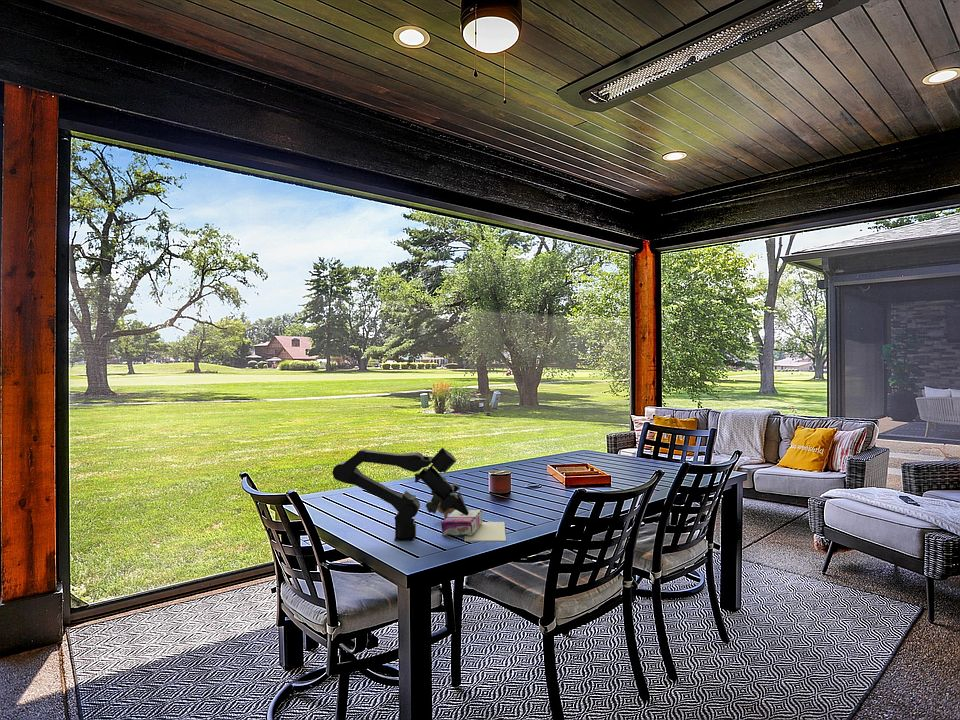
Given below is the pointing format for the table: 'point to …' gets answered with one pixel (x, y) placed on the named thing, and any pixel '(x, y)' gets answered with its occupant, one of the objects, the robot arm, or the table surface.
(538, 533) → the table surface
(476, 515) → the candy bar box
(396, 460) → the robot arm
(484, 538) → the placemat
